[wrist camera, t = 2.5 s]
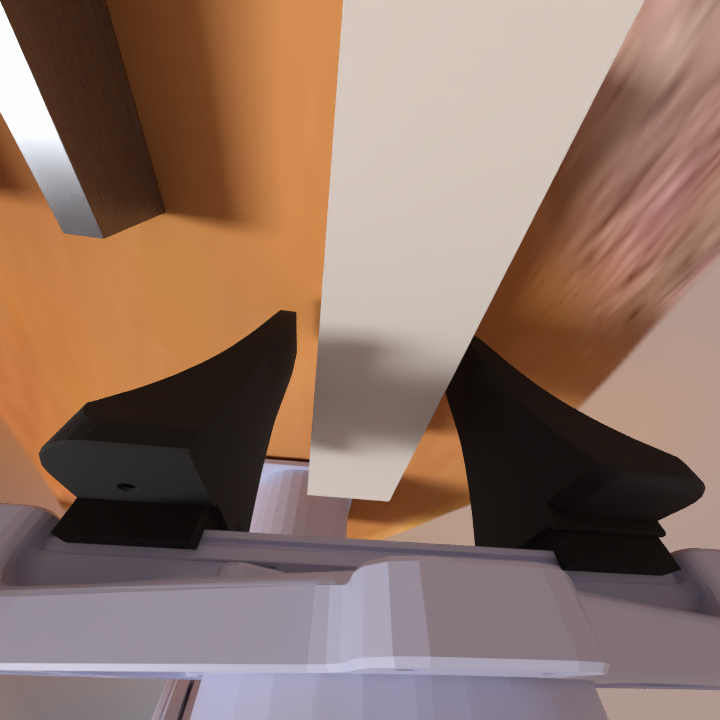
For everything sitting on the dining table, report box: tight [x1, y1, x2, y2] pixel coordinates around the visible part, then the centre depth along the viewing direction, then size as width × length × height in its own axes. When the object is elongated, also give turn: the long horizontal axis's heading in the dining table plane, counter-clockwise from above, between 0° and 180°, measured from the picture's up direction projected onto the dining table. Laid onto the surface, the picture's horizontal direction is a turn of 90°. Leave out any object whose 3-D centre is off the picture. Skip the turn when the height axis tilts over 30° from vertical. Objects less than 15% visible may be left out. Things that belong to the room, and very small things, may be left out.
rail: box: [307, 0, 644, 501], centre depth 10 cm, size 16×4×5 cm, turn 171°
